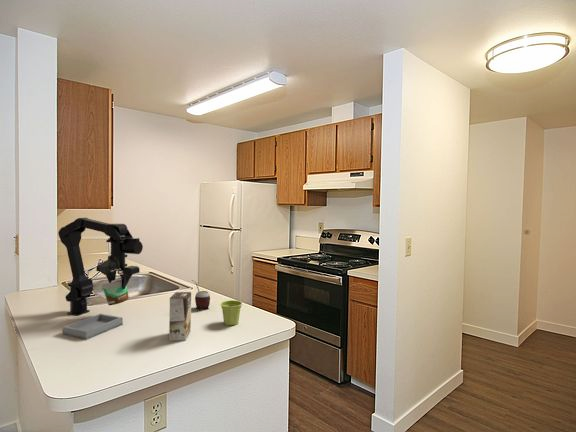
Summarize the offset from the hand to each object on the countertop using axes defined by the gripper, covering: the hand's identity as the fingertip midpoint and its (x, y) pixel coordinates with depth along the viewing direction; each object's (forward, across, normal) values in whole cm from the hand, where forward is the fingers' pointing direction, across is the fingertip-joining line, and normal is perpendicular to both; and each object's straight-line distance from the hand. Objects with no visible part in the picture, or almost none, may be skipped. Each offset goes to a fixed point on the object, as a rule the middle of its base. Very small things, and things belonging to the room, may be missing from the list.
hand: (117, 288), depth 152 cm
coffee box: (+13, +38, -7) cm, 40 cm away
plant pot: (+13, +49, +13) cm, 52 cm away
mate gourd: (+13, +27, +24) cm, 39 cm away
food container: (+6, +1, +1) cm, 6 cm away
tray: (+13, +2, -14) cm, 19 cm away
